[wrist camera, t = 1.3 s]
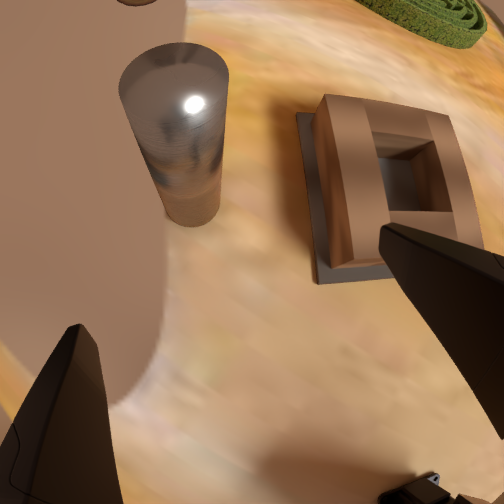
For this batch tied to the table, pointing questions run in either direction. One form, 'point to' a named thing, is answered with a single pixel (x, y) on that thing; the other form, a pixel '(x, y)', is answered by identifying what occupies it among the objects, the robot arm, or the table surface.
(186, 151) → the steel pin
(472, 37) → the maze
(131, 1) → the wooden toy train
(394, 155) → the socket block
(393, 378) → the table surface
